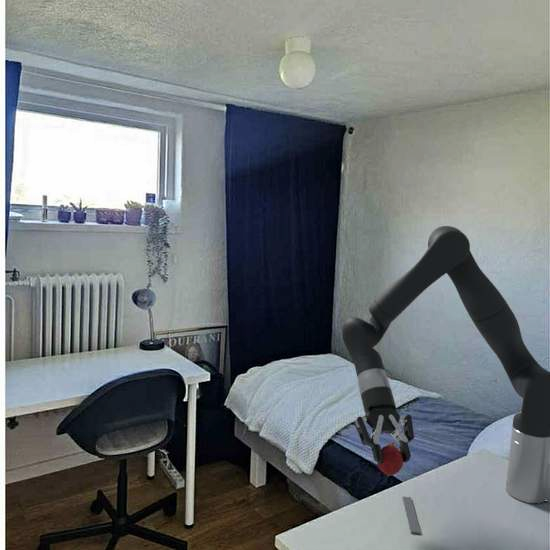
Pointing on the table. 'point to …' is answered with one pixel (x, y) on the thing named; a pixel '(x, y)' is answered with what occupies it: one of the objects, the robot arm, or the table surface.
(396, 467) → the onion
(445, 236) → the robot arm
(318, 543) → the table surface
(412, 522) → the flat gray rectangular bar
